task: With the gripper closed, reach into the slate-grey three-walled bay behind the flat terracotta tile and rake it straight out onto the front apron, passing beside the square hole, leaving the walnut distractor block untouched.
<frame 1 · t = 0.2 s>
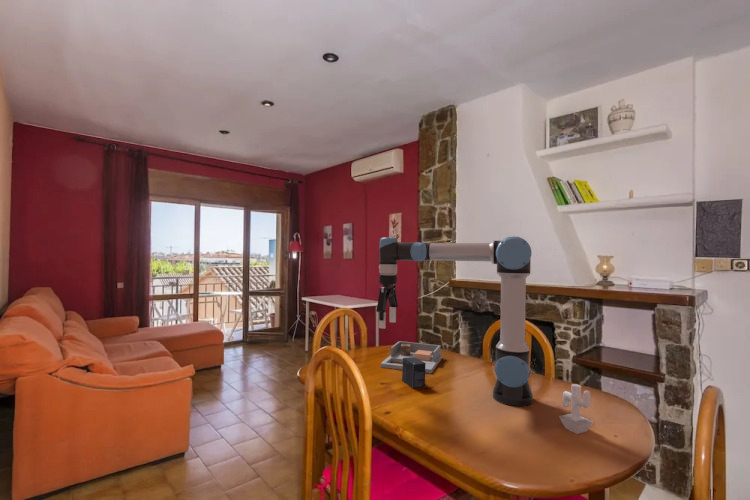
hand: (387, 325, 155), 28 cm above the table, fingers open, 13 cm apart
cubby deck: (412, 362, 196), on the table
walnut block: (405, 354, 205), point 2 cm above the table, touching cubby deck
figurine: (575, 430, 123), on the table
box: (413, 384, 165), on the table
terracotta tile: (423, 358, 197), point 2 cm above the table, touching cubby deck
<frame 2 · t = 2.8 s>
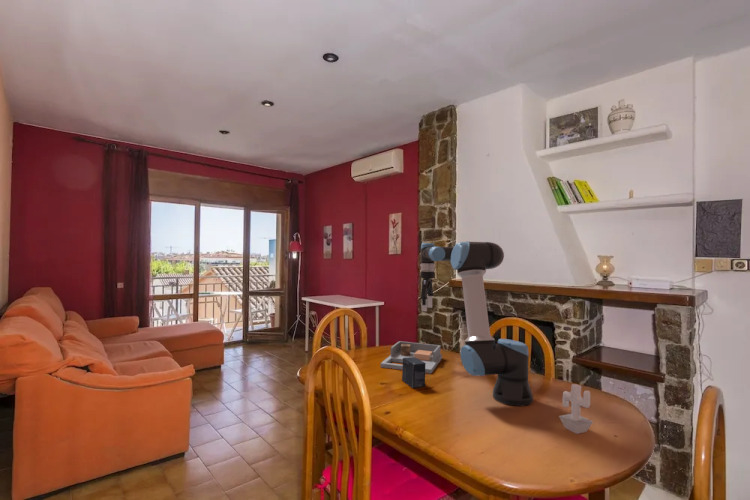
hand: (427, 309, 205), 27 cm above the table, fingers open, 13 cm apart
nothing on the table moved.
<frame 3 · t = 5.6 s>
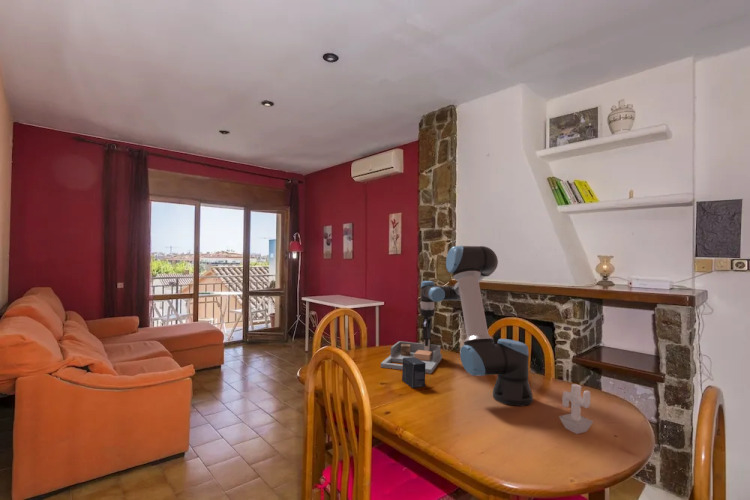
hand: (426, 351, 205), 4 cm above the table, fingers closed
nothing on the table moved.
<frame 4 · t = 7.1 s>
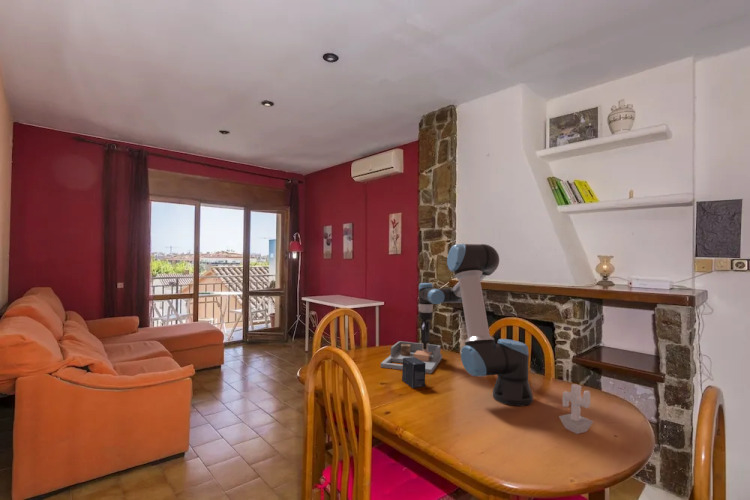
hand: (425, 354, 201), 3 cm above the table, fingers closed
terracotta tile: (422, 358, 196), point 2 cm above the table, touching gripper
everything else where it was.
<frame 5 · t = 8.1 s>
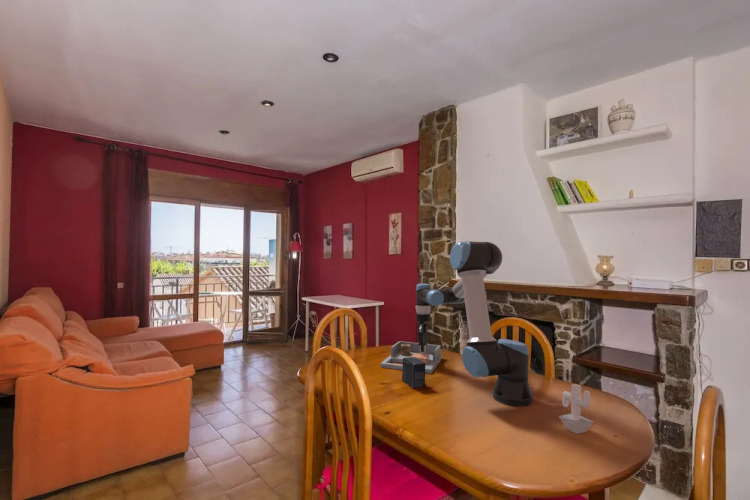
hand: (422, 357, 195), 3 cm above the table, fingers closed
terracotta tile: (420, 361, 191), point 2 cm above the table, touching cubby deck
everything else where it was.
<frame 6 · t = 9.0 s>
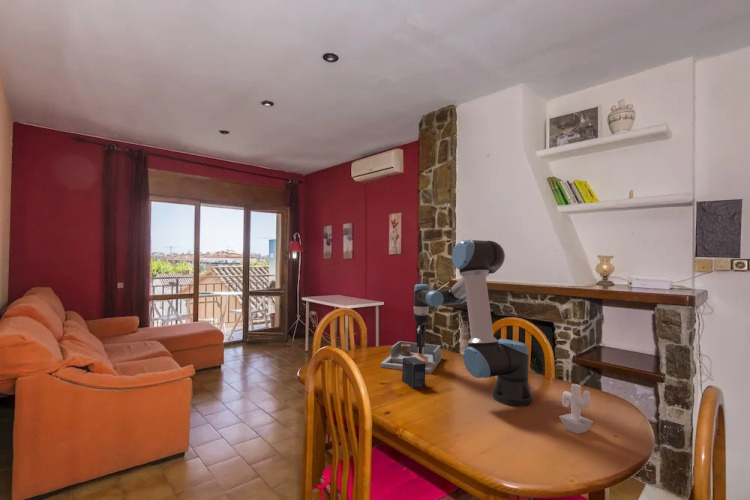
hand: (420, 359, 192), 3 cm above the table, fingers closed
terracotta tile: (418, 363, 187), point 2 cm above the table, touching gripper
everything else where it was.
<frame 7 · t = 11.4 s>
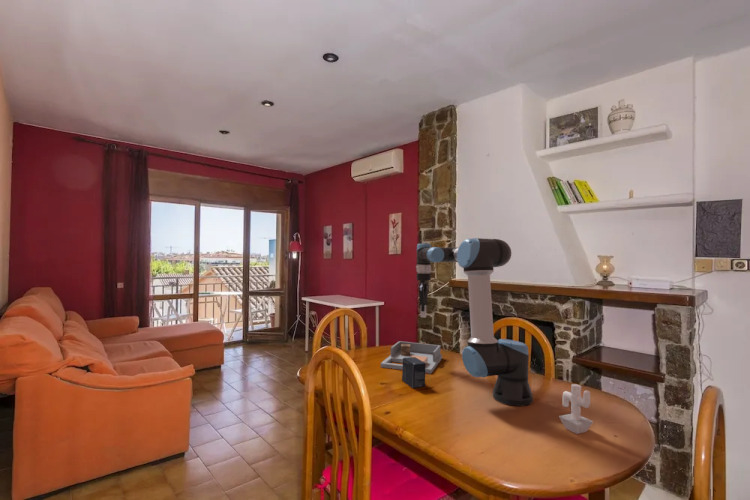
hand: (423, 317, 196), 24 cm above the table, fingers closed
terracotta tile: (418, 364, 187), point 2 cm above the table, touching cubby deck
everything else where it was.
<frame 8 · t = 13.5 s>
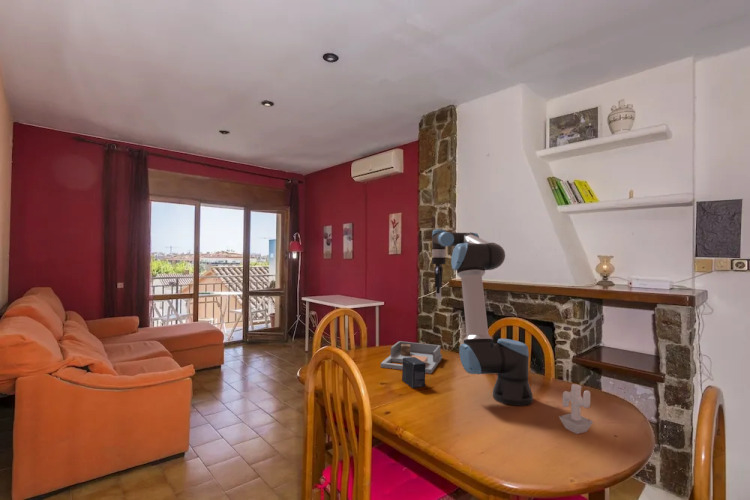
hand: (438, 298, 208), 32 cm above the table, fingers closed
nothing on the table moved.
at the end: terracotta tile inside the target area on the cubby deck (0.8 cm from its centre), point 2.0 cm above the cubby deck's base; terracotta tile tilted 0°; walnut block moved 0.0 cm from its start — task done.
